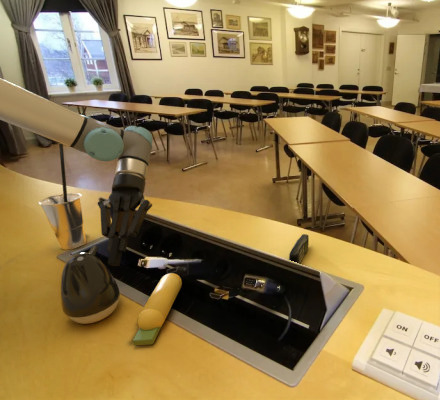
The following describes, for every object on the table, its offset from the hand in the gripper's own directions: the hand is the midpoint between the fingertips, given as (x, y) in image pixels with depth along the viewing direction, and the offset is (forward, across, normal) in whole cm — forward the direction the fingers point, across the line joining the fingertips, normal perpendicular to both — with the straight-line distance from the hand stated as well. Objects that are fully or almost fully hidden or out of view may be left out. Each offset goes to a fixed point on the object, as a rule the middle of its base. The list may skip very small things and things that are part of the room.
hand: (113, 264), depth 78 cm
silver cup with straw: (-12, +24, -21) cm, 35 cm away
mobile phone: (-3, -46, -12) cm, 47 cm away
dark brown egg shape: (+12, 0, +3) cm, 12 cm away
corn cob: (+12, -14, +3) cm, 19 cm away
